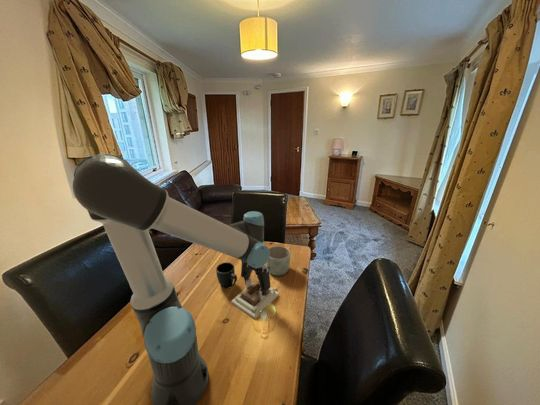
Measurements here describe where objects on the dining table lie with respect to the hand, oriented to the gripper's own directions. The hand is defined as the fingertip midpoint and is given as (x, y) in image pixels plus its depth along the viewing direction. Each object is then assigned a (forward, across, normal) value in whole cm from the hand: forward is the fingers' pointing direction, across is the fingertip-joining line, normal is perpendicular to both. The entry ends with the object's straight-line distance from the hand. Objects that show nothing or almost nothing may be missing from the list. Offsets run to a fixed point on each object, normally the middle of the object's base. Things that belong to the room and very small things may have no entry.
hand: (255, 295), depth 93 cm
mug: (+2, +15, +2) cm, 15 cm away
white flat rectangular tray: (+2, 0, 0) cm, 2 cm away
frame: (0, 0, 0) cm, 0 cm away
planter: (+2, +4, -22) cm, 22 cm away
